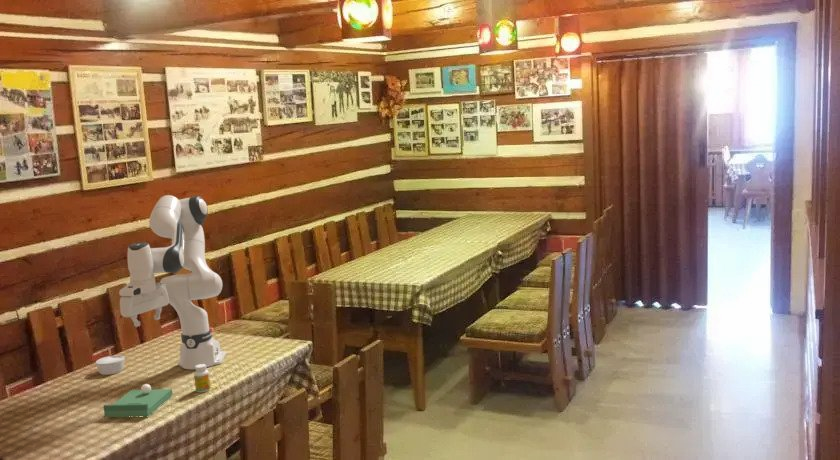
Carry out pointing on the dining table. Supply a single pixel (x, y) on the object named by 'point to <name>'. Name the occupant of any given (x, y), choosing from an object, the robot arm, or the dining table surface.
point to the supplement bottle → (202, 378)
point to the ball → (146, 388)
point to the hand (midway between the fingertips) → (147, 322)
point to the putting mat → (137, 403)
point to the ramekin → (110, 365)
